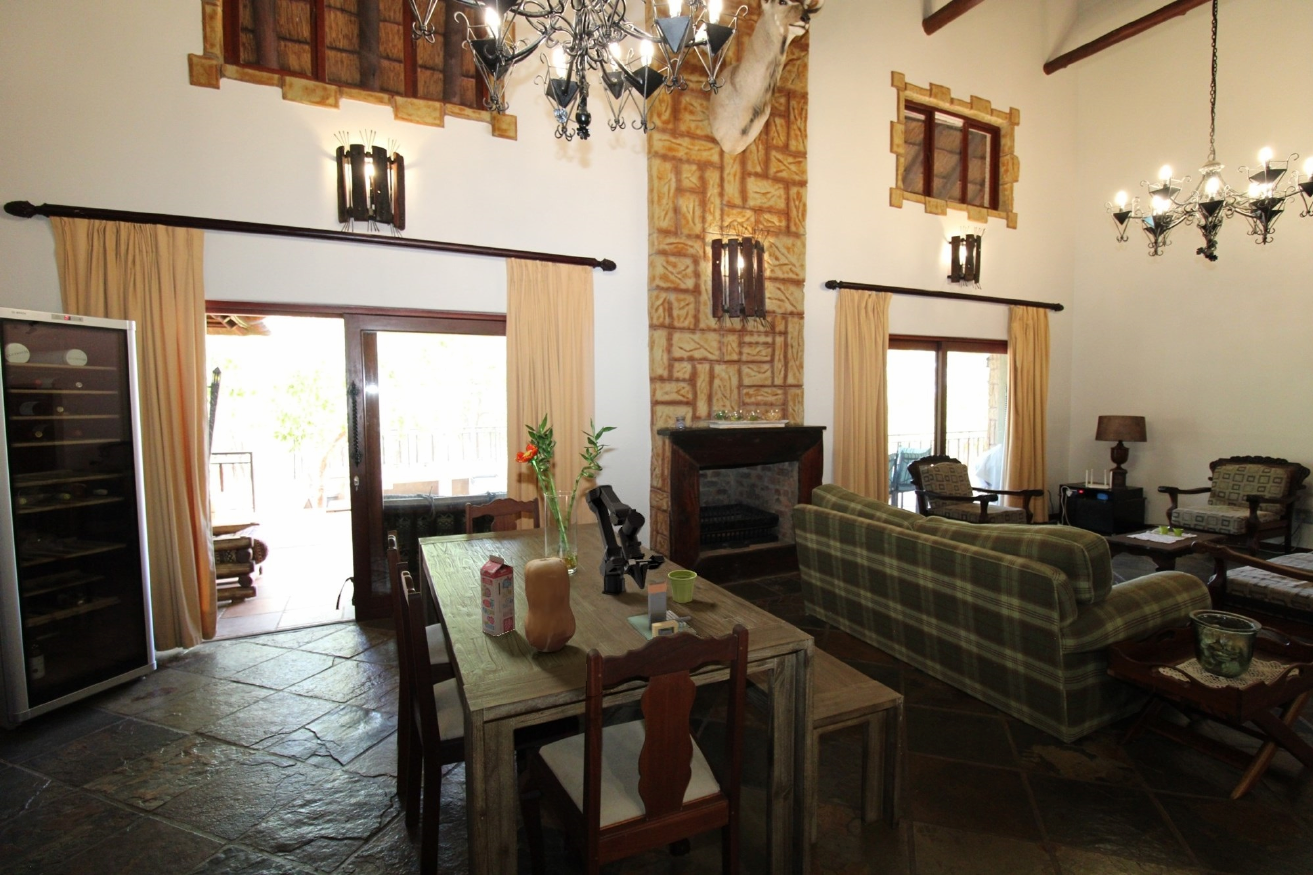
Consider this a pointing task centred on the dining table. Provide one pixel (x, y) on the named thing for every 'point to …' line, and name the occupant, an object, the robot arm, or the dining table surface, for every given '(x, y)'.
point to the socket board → (645, 625)
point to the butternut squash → (548, 604)
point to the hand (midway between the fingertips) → (642, 588)
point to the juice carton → (497, 596)
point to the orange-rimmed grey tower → (659, 607)
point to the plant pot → (682, 585)
